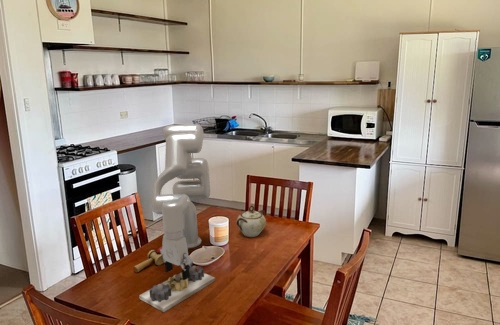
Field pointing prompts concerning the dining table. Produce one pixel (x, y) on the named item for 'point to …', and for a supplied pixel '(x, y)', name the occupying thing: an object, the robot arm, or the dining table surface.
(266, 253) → the dining table surface
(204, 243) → the dining table surface
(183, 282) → the brass gear
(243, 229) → the teapot
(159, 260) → the kendama
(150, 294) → the gear board
